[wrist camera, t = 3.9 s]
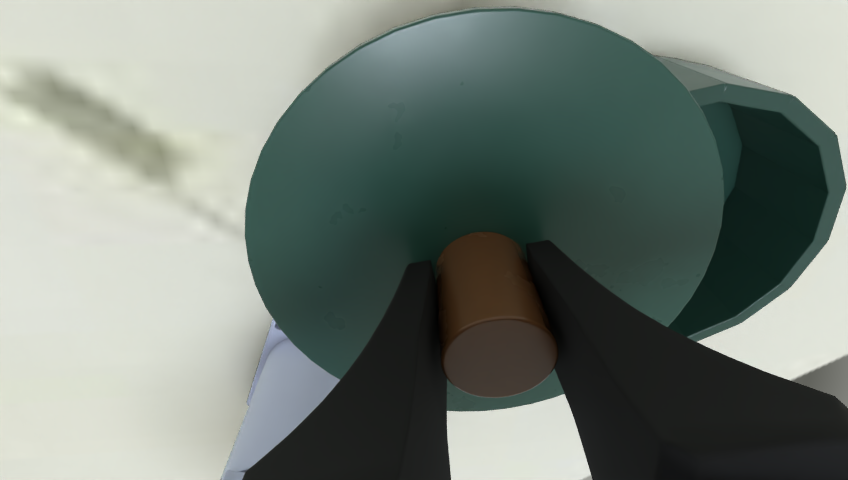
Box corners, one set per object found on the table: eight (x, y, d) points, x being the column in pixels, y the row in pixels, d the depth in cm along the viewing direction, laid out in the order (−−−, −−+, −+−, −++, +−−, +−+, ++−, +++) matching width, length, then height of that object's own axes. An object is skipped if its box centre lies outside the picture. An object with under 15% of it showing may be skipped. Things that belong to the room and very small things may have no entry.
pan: (725, 258, 24) (799, 328, 19) (510, 297, 25) (530, 371, 21) (770, 24, 18) (896, 45, 13) (478, 93, 19) (497, 134, 14)
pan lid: (677, 358, 16) (757, 480, 12) (340, 408, 17) (318, 532, 14) (740, -65, 9) (977, -88, 5) (166, 77, 10) (22, 142, 7)
